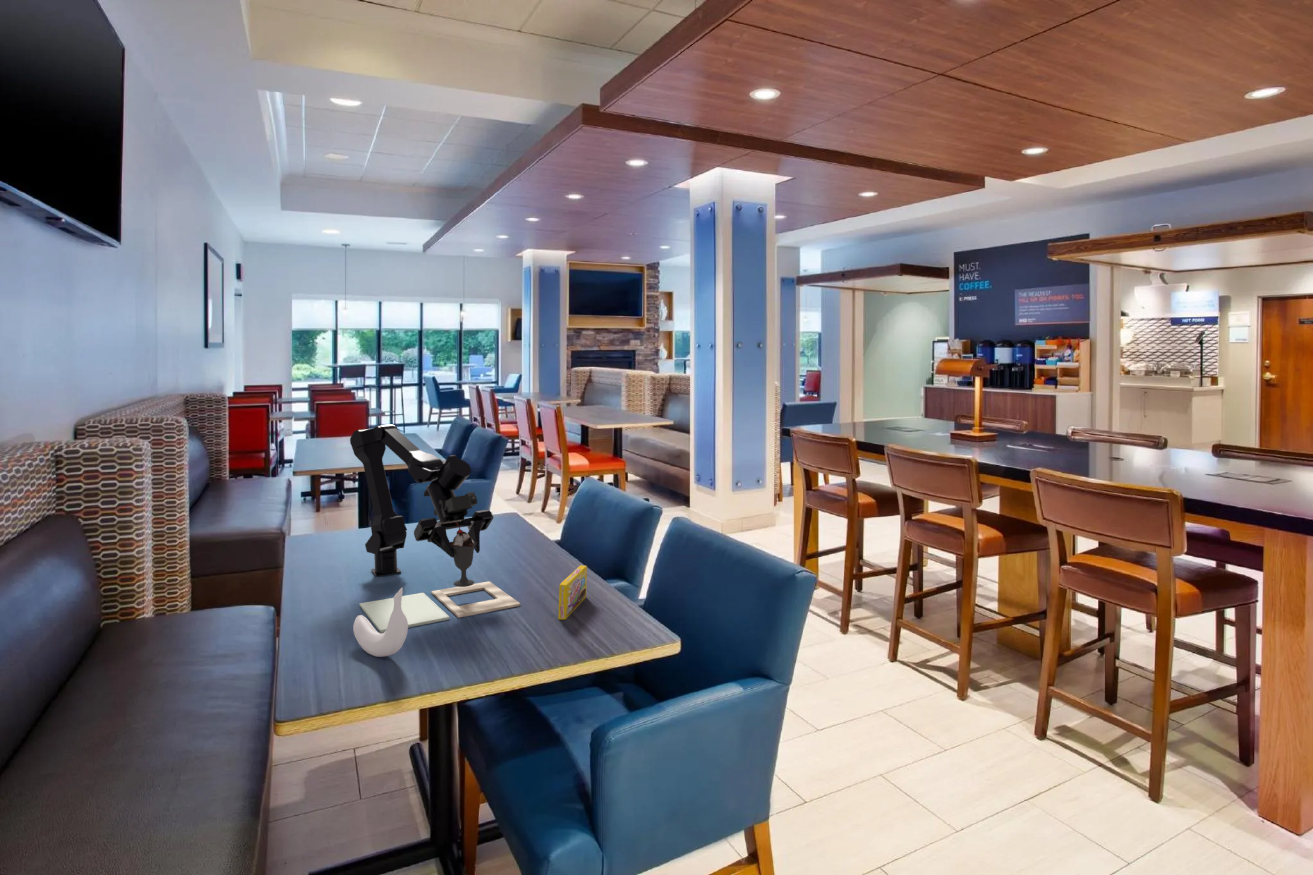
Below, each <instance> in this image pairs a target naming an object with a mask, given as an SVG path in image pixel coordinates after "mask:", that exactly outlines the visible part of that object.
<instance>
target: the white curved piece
mask: <svg viewBox="0 0 1313 875" xmlns="http://www.w3.org/2000/svg"><path fill="white" fill-rule="evenodd" d="M403 590H404V588H403V587H401V588H400V589H399V590H398V591H397V592H396V593H395V595H394V596H393V598H394V608H393V611H392V613H391V616H390V619H389V623H388V626H387V630H386V631H385V632H382V633H380V632H379V631H377V630H376V627H375V626H373V625H372V624H373V623H372V622H371V621H369V620H370V619H369V618H367V616H364V615H362V614H359V615H357V616H356V617H355V620H354V622H353V626H352V629H353V634H354V637H355V639H356V641H357V643H358V644H359V646H360V647H361V648H362V649H363V651H364V652H366V653H367V654H369V655H371V656H373V657H377V658H378V657H379V658H380V657H381V658H382V657H388V656H389V657H390V656H391V655H394V654H396V653H397V652H398V651H400V650H401V649H402V647H403V645H404V643H405V641H406V638H407V635H408V630H409V627H408V621H407V618H406V616H405V614H404V613H403V611H402V608H401V600H402V596H403V593H404V592H403Z"/></svg>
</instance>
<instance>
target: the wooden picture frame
mask: <svg viewBox="0 0 1313 875" xmlns="http://www.w3.org/2000/svg"><path fill="white" fill-rule="evenodd" d="M477 591H485V592H486V593H488V595H490V596H491V597H493V598H494V599H488V600H482V601H478V602H472V603H467V604H461V605H458V604H456V603H455V602H454V601H453V600H452V599H450V597H449V596H455V595H461V594H467V593H472V592H477ZM430 593H431V595H433V597H434V598H436V600H438V601H439V602H441V604H443V605H444V606H445V608H447V609H448V610H449V611H450V612H451V613H452V614H454V615H455V617H457V618H458V619H459V618H463V617H469V616H474V615H479V614H485V613H490V612H494V611H500V610H506V609H509V608H510V609H511V608H514V607H520V606H521V603H520V602H519V601H517V600H516V599H515V598H513V597H512V596H510V595H509V594H508V593H506V592H505V591H503V590H502V589H501V588H499V587H498V586H497V585H495V584H494V583H492V582H491V581H490V580H489V581H485V582H484V581H483V582H477V583H474V584H473V585H471V586H467V587H458V586H454V587H448V588H442V589H436V590H431V592H430Z"/></svg>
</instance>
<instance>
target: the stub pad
mask: <svg viewBox="0 0 1313 875" xmlns="http://www.w3.org/2000/svg"><path fill="white" fill-rule="evenodd" d="M359 608H360V609H362V611H363V612H364V613H365V615H366V617H368V620H370V622H371V624H373V625H374V627H375V629H377V630H378V632H379V633H380V634H382V633H384V632H385V631H386V630H387V626H388V623H389V619H390V616H391V613H392V611H393V608H394V597H389V598H385V599H378V600H372V601H367V602H361V603H359ZM401 608H402V611H403V613H404V614H405V616H406V618H407V621H408V628H412V627H418V626H423V625H428V624H433V623H437V622H444V621H448V620H449V621H450V616H449V615H448V614H447V613H446V612H445V610H443V609H441V608H440V606H438V605H437V604H436V603H435V602H434V601H433V600H432V599H431V598H430V597H429V596H428V595H427V594H425V593H424V592H419V593H414V594H413V593H412V594H407V595H402V600H401Z"/></svg>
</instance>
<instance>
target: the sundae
mask: <svg viewBox="0 0 1313 875" xmlns="http://www.w3.org/2000/svg"><path fill="white" fill-rule="evenodd" d="M455 524H457V525H458V523H457V522H455ZM458 526H459V525H458ZM449 542H450V544H451V546H452V548H453V551H454V557H453V561H454V562H453V563H454V565H455V567H456V568H458V570H460V571H461V573H460V574H461V575H460V579H459V580H456V581H454V582H453V585H454V587H467V586H471V585H473V584H475V581H474V580H473V579H469V578H468V576H467V569H468V570H469V568H470V567H471V565H472V564H473V559H474V552H475V551H474V550H475V549H474V546H475V545H476V544H477V542H476V541H473V540H472V538H471V537H470V536H469V534H468V532H467V531H463V529H461V527H460V526H459V528H458V530H457V531H456V535H455V536H454V537H453V539H452V541H449Z"/></svg>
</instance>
